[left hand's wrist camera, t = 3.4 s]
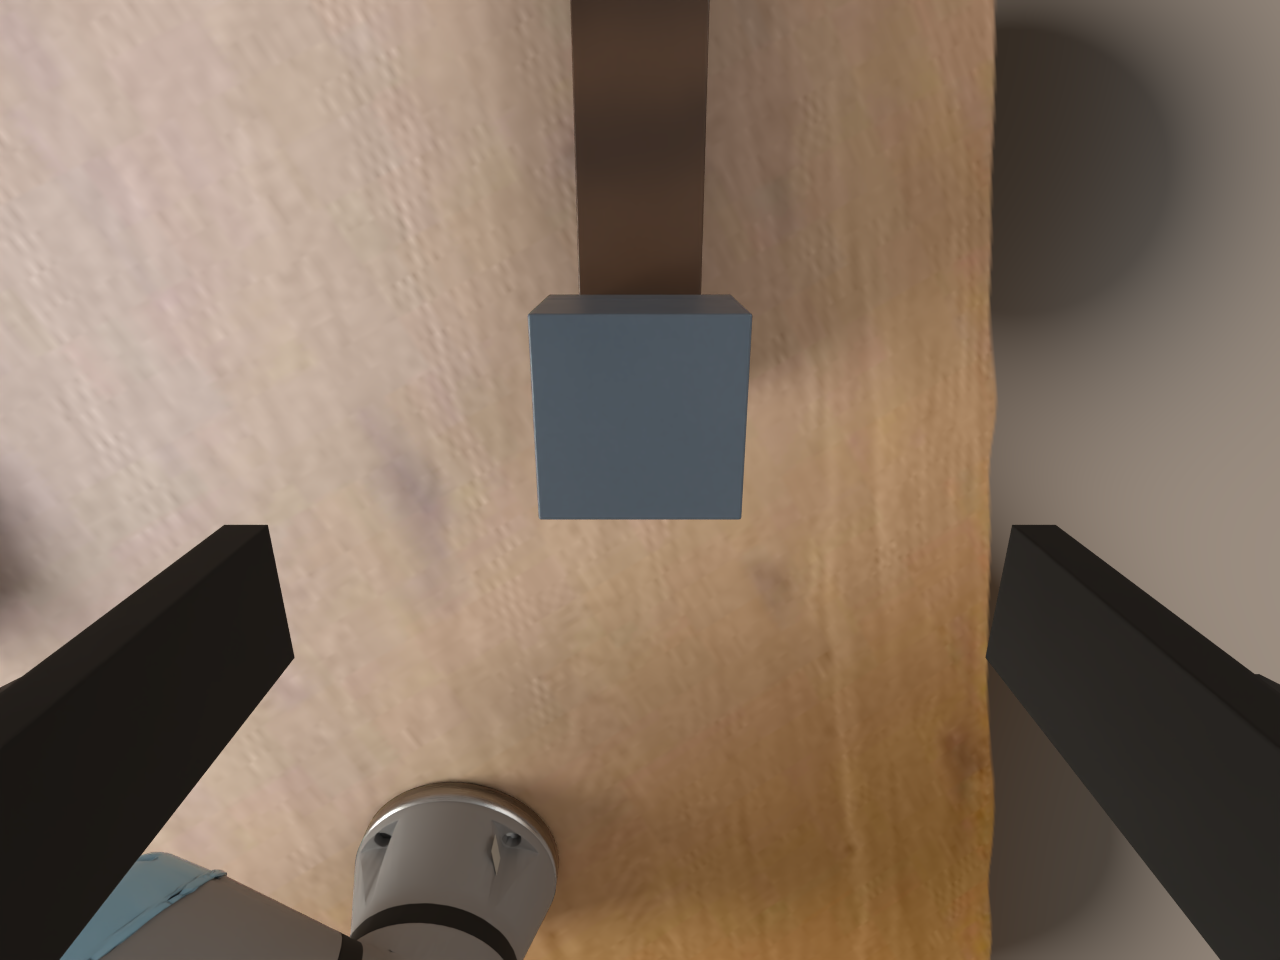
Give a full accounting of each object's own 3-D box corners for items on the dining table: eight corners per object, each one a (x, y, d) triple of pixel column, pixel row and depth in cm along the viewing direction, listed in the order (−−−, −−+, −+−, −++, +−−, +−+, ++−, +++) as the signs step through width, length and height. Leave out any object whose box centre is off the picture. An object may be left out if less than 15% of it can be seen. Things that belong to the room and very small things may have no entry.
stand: (689, 396, 43) (714, 491, 28) (590, 396, 43) (565, 491, 28) (703, -138, 34) (750, -402, 19) (576, -138, 34) (529, -401, 19)
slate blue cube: (723, 466, 30) (741, 520, 25) (556, 466, 30) (538, 520, 25) (731, 294, 27) (752, 313, 22) (548, 294, 27) (527, 313, 22)
